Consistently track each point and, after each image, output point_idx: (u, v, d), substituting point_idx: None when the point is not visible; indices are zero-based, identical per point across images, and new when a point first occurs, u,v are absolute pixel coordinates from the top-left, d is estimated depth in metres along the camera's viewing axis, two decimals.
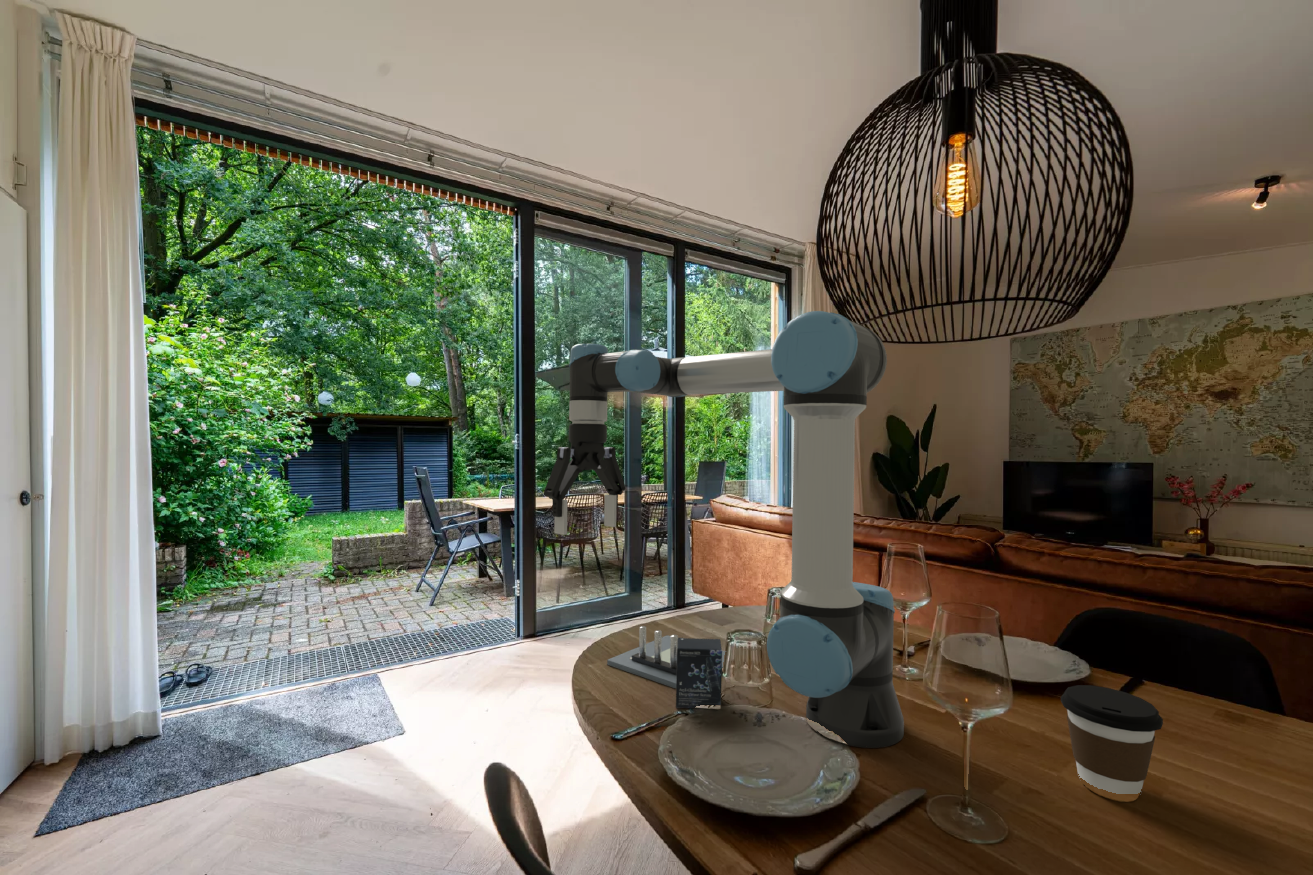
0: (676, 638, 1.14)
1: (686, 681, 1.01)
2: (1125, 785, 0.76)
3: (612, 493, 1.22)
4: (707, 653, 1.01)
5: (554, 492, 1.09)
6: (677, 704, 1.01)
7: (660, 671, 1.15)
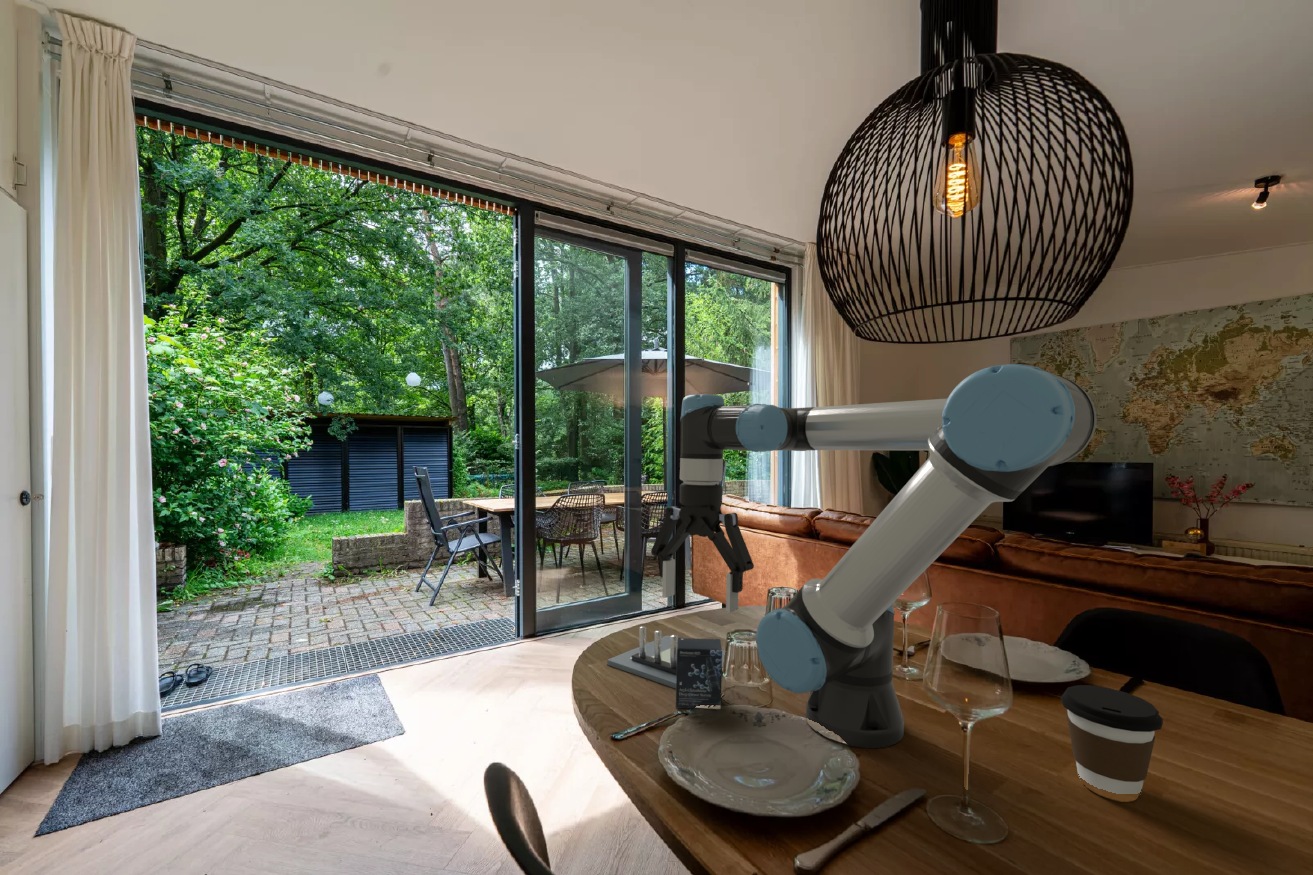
0: (676, 638, 1.14)
1: (686, 681, 1.01)
2: (1125, 785, 0.76)
3: None
4: (707, 653, 1.01)
5: (653, 550, 1.09)
6: (677, 704, 1.01)
7: (660, 671, 1.15)
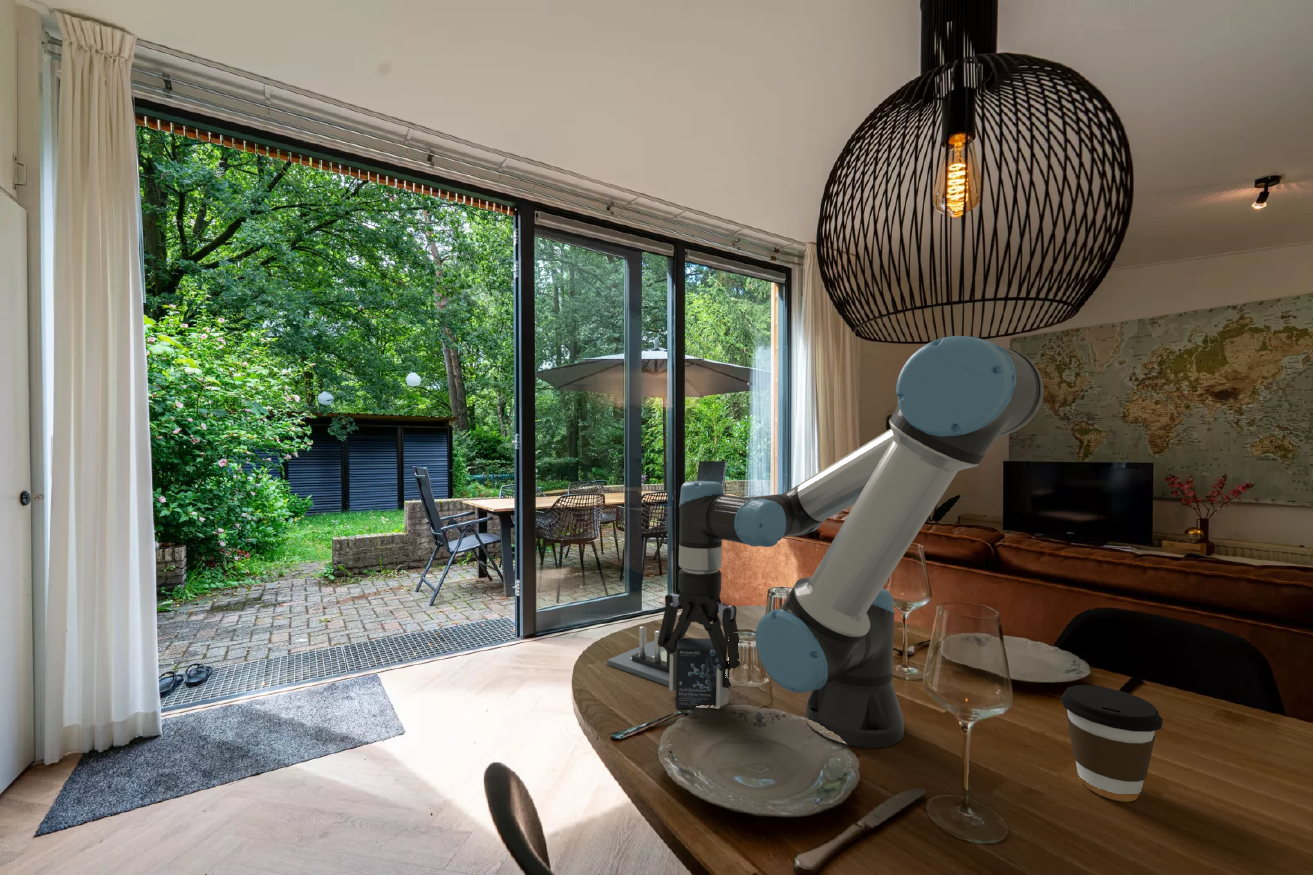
0: None
1: (686, 681, 1.01)
2: (1125, 785, 0.76)
3: None
4: (707, 652, 1.01)
5: (659, 642, 1.08)
6: (677, 704, 1.01)
7: (660, 671, 1.15)
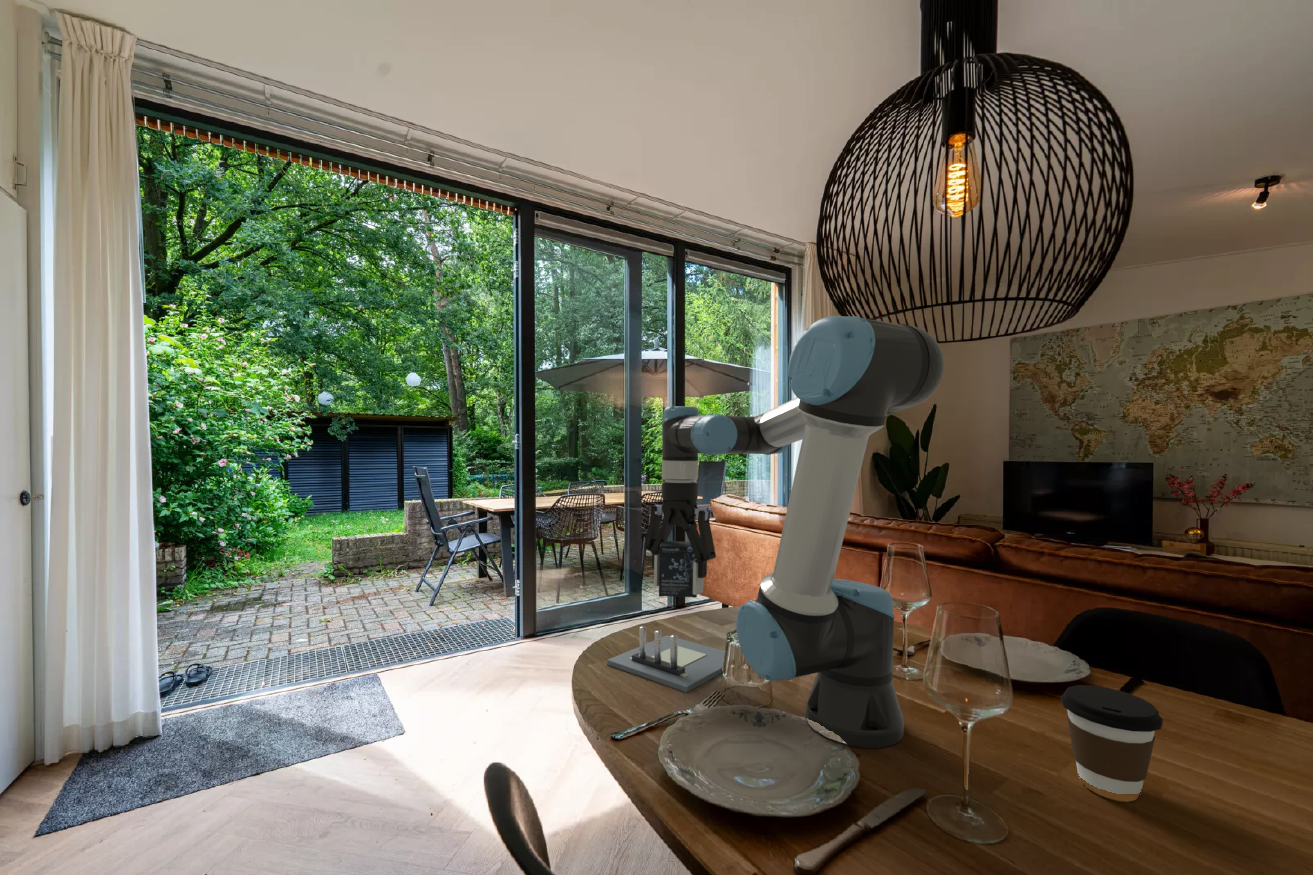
0: (676, 638, 1.14)
1: (667, 574, 1.19)
2: (1125, 785, 0.76)
3: None
4: (685, 549, 1.19)
5: (645, 546, 1.26)
6: (660, 593, 1.19)
7: (660, 671, 1.15)
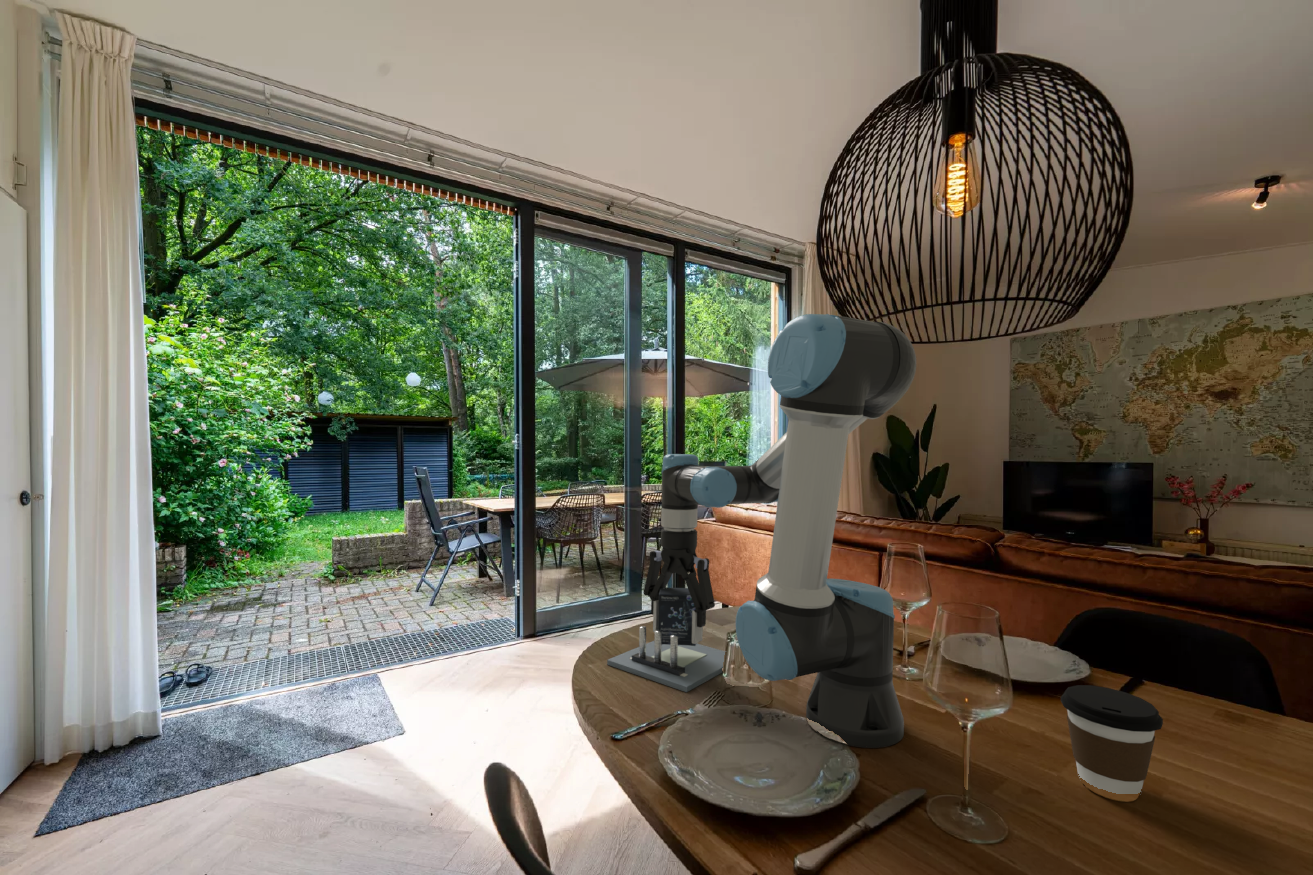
0: (676, 638, 1.14)
1: (666, 622, 1.19)
2: (1125, 785, 0.76)
3: None
4: (684, 598, 1.19)
5: (645, 591, 1.26)
6: None
7: (660, 671, 1.15)
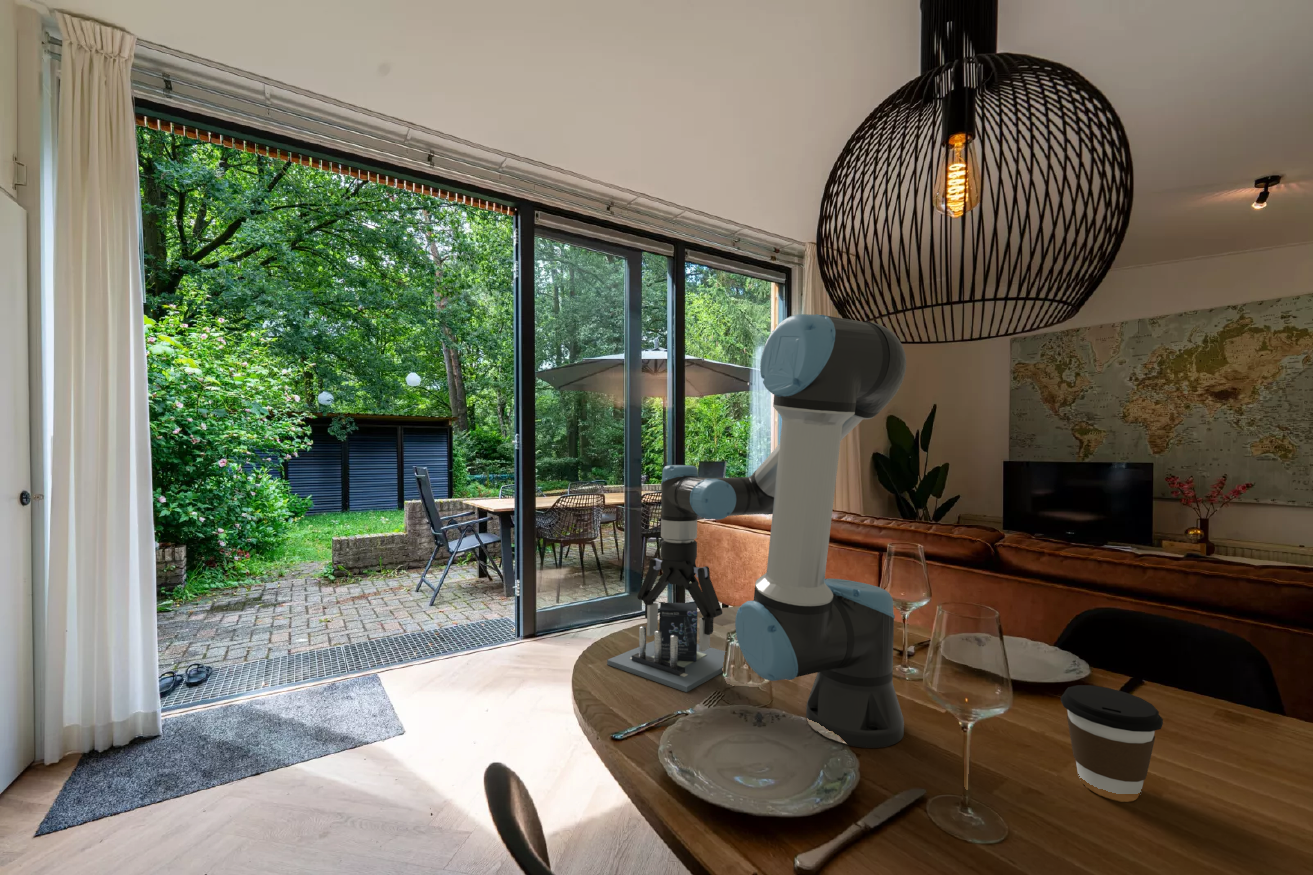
0: (676, 638, 1.14)
1: (667, 637, 1.19)
2: (1125, 785, 0.76)
3: None
4: (684, 613, 1.19)
5: (639, 595, 1.27)
6: None
7: (660, 671, 1.15)
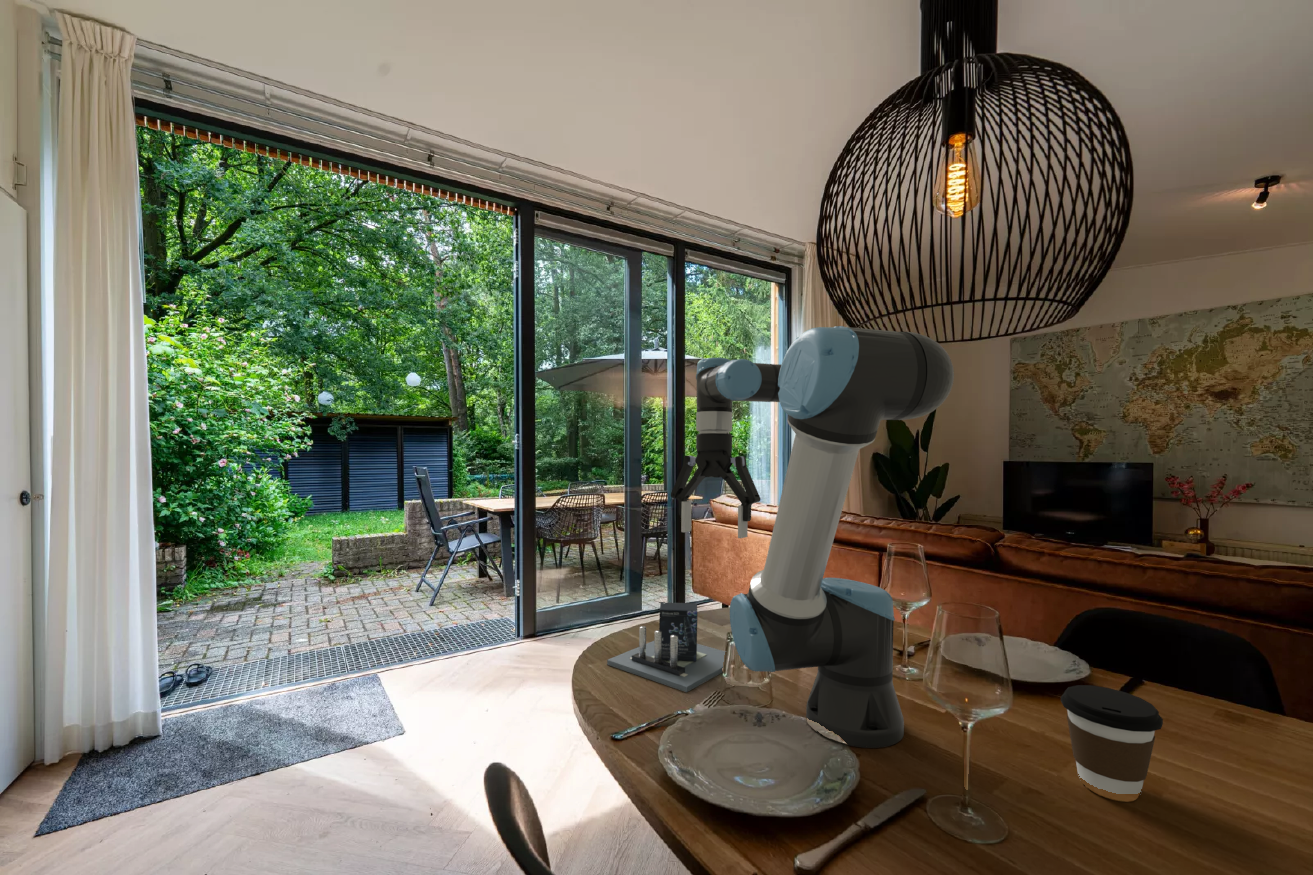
0: (676, 638, 1.14)
1: (667, 638, 1.19)
2: (1125, 785, 0.76)
3: None
4: (684, 613, 1.19)
5: (672, 493, 1.28)
6: None
7: (660, 671, 1.15)
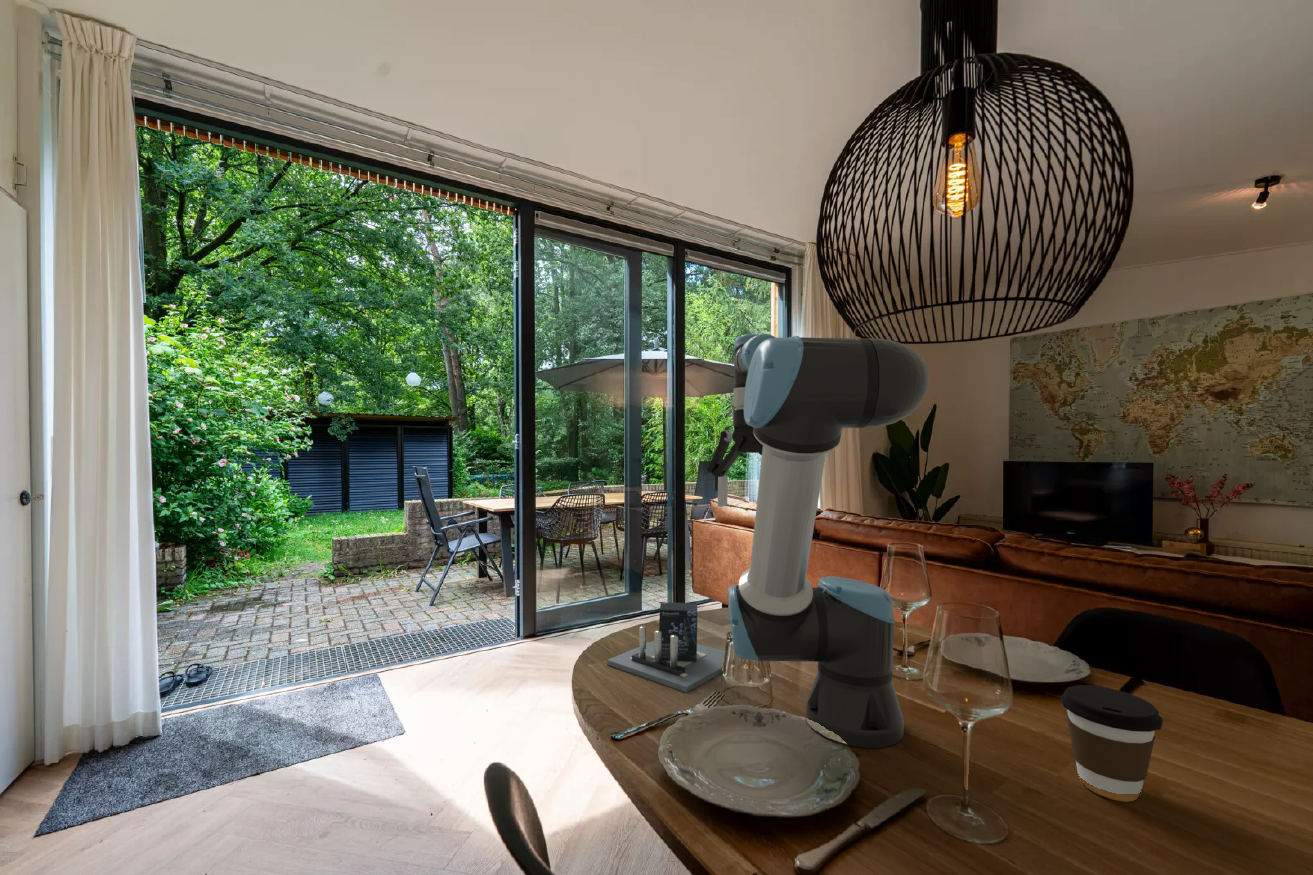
0: (676, 638, 1.14)
1: (667, 638, 1.19)
2: (1125, 785, 0.76)
3: None
4: (684, 613, 1.19)
5: (709, 468, 1.30)
6: None
7: (660, 671, 1.15)
